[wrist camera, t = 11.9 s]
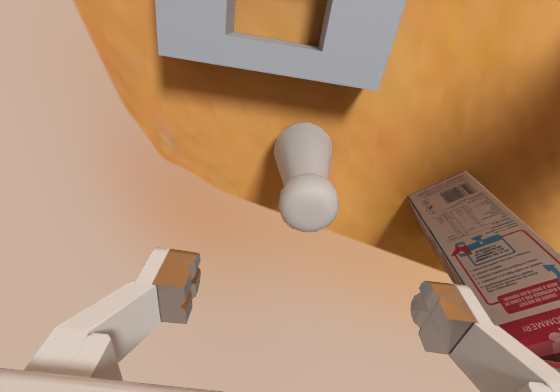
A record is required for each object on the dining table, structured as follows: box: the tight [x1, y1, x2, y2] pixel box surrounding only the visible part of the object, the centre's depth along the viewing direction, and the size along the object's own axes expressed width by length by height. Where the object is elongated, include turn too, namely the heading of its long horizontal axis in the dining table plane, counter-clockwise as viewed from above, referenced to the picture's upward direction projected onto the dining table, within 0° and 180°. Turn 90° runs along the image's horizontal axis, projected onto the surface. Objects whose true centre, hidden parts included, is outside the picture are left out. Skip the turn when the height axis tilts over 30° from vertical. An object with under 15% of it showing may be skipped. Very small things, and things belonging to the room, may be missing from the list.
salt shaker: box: [273, 122, 339, 232], centre depth 26 cm, size 6×6×13 cm
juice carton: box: [407, 171, 560, 373], centre depth 26 cm, size 7×7×22 cm
